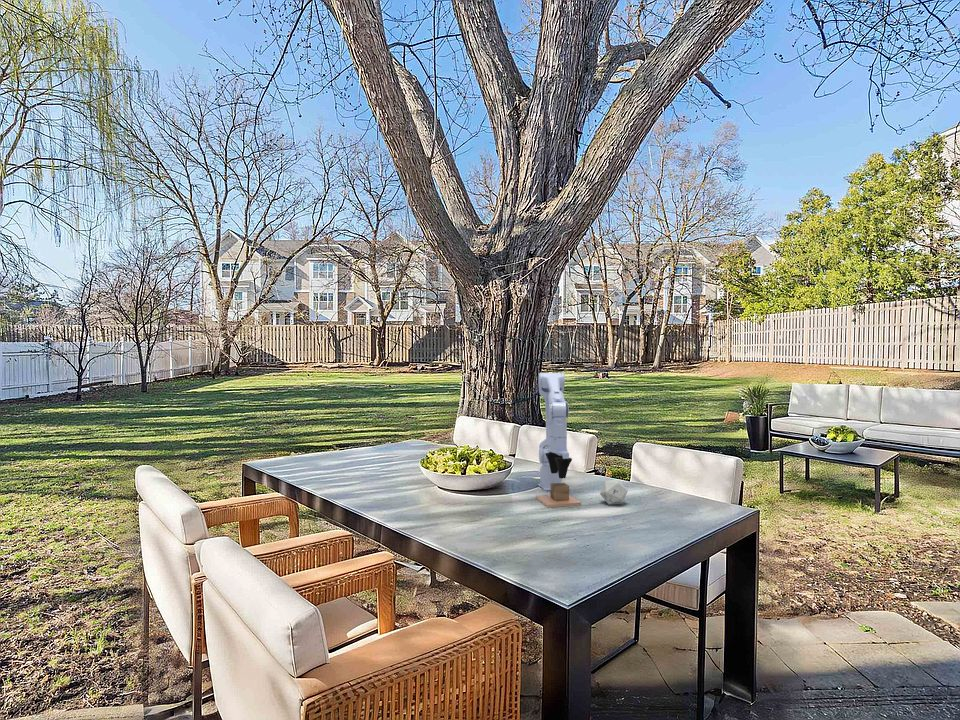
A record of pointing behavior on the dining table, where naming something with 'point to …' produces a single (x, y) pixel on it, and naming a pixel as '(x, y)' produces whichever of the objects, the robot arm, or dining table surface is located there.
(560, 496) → the cube
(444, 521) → the dining table surface
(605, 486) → the die
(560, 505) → the tile
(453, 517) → the dining table surface
